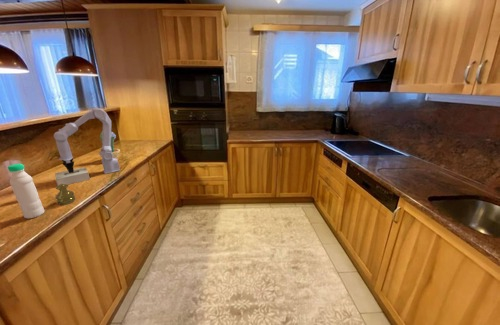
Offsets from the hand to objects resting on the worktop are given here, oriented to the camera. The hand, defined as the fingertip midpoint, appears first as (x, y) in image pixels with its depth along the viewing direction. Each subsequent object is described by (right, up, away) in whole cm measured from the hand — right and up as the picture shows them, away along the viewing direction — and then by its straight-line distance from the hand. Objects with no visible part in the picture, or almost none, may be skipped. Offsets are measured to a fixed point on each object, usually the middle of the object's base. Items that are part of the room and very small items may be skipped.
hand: (71, 170), depth 138 cm
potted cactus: (0, +7, +40) cm, 41 cm away
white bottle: (+15, -19, -38) cm, 45 cm away
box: (0, -6, +2) cm, 6 cm away
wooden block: (0, -6, +2) cm, 6 cm away
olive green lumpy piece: (+20, -15, -26) cm, 36 cm away
